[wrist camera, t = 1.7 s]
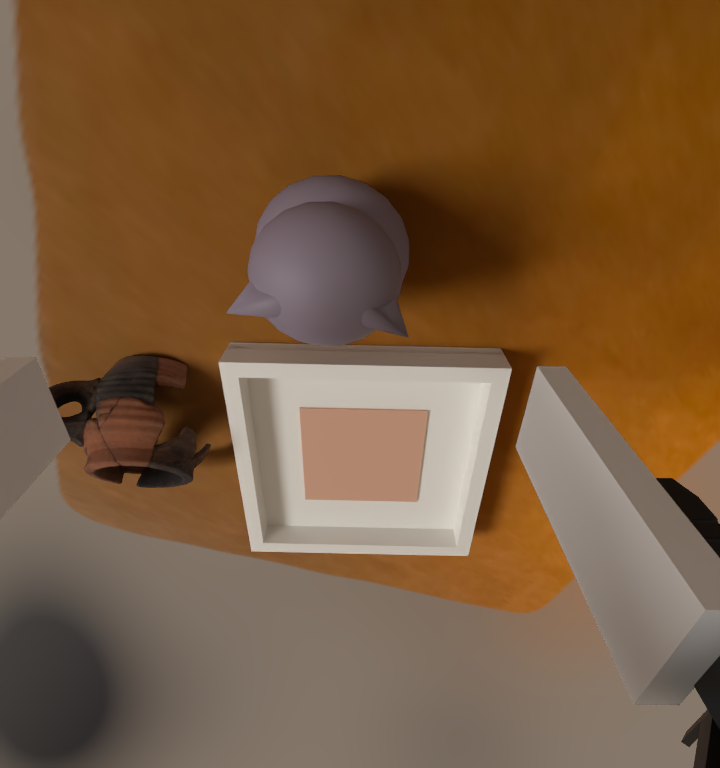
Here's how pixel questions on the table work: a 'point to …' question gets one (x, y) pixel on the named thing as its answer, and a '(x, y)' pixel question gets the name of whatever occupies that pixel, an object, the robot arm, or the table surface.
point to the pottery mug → (130, 423)
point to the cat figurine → (327, 263)
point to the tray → (362, 444)
